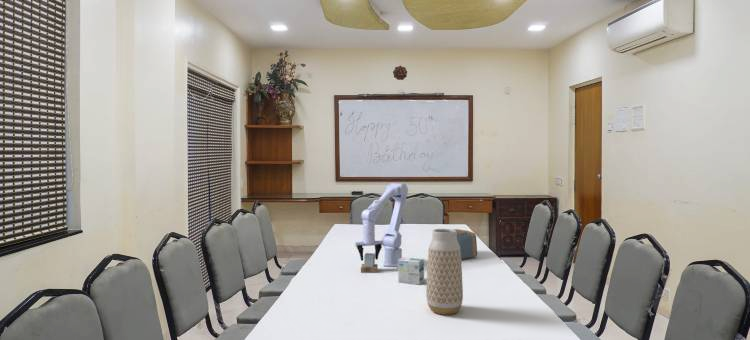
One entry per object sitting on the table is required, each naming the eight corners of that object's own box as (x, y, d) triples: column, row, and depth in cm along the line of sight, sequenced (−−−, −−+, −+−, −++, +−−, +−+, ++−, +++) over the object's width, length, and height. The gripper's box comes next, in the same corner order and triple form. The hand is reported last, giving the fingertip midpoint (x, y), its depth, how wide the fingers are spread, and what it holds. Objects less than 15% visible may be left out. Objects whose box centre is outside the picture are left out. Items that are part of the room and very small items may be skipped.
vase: (438, 319, 166) (438, 235, 164) (419, 307, 178) (419, 229, 177) (470, 313, 171) (470, 232, 170) (449, 302, 184) (450, 226, 182)
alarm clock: (478, 257, 261) (478, 230, 261) (458, 261, 252) (458, 233, 252) (458, 252, 275) (458, 226, 274) (438, 256, 266) (438, 229, 265)
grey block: (374, 265, 235) (374, 253, 235) (373, 267, 231) (373, 255, 230) (366, 264, 236) (366, 252, 236) (364, 266, 232) (364, 254, 231)
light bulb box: (424, 281, 214) (424, 258, 214) (419, 285, 208) (419, 261, 208) (403, 278, 219) (403, 256, 218) (397, 282, 213) (397, 259, 212)
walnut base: (377, 269, 237) (377, 264, 237) (376, 273, 229) (376, 267, 229) (362, 269, 238) (362, 263, 238) (360, 273, 230) (360, 267, 230)
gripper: (380, 231, 239) (380, 256, 239) (353, 232, 235) (353, 258, 235) (384, 233, 232) (384, 260, 232) (356, 235, 228) (356, 262, 228)
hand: (369, 259), depth 233 cm, fingers open, 7 cm apart
